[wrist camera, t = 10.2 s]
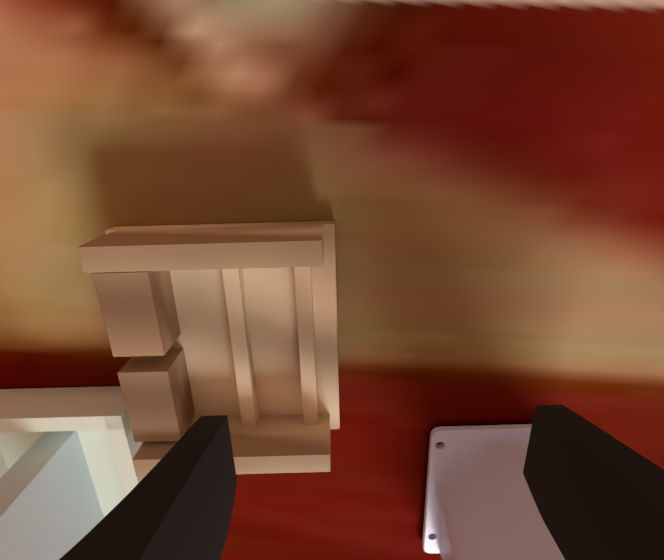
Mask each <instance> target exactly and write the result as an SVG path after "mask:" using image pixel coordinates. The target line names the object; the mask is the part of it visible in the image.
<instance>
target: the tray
mask: <svg viewBox="0 0 664 560" xmlns="http://www.w3.org/2000/svg"><path fill="white" fill-rule="evenodd" d="M51 431H77V432H78V436H79V439H80V442H81V445H82V448H83V452H84V455H85V458H86V461H87V465H88V468H89V471H90V474H91V477H92V481H93V484H94V487H95V490H96V493H97V497H98V500H99V503H100V506H101V510H102V513H103V516H104V517H105V516H106V515H107V514H108V513H109V512H110V511H111V510H112V509H113V508H114V507H115V506H116V505H117V504H119V503H120V502H121V501H122V500H123V499H124V498H125V497H126V496H127V495H128V494H129V493H130V492H131V490H132V489H133V488H134V487H135V486H136V485H137V484H138V483H139V482H140V481H141V480H142V479H143V478H144V477H136V473H135V469H134V465H133V462H132V459H133V458H134V456H135V454H136V453H137V451H138V450H139V448H140V446H141V445H142V443H143V442H135V441H134V437H133V433H132V429H131V426H130V422H129V418H128V414H127V410H126V406H125V402H124V398H123V394H122V390H121V386H102V387H65V388H28V389H0V478H1V477H2V476H3V475H4V474H5V473H6V472H7V471H8V470H9V468H10V467H11V466H12V465H13V464H14V463H15V462H16V461H17V460H18V459H19V458H20V457H21V456H22V455H23V454H24V453H25V452H26V451H27V450H28V449H29V448H30V447H31V446H32V445H33V444H34V443H35V442H36V441H37V440H38V438H39V437H40V436H41V435H42V434H43V433H44V432H51Z"/></svg>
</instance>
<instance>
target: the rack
mask: <svg viewBox="0 0 664 560" xmlns="http://www.w3.org/2000/svg"><path fill="white" fill-rule="evenodd" d="M105 234H106V235H104V236H102V237H99V238H97V239H95V240H92V241H90V242H88V243H86V244H83V245H81V246H79V247H77V249H78V253H79V257H80V261H81V265H82V269H83V272H84V273H101V272H137V271H170V276H171V282H172V287H173V293H174V298H175V304H176V309H177V315H178V321H179V326H180V332H181V334H180V335H179V337H178V338H177V339H176V341H175V342H174V343H173V345H172V346H171V347H170V349H178V348H183V349H184V354H185V360H186V365H187V371H188V377H189V382H190V388H191V393H192V399H193V405H194V410H195V414H194V416H193V418H192V420H191V422H190V424H189V426H188V428H187V430H188V429H189V428H190V427H191V426H192V425H193V424H194V423H195V422H196V421H197V420H198V419H199V418H200V417H201V416H215V415H227V417H228V423H229V430H230V437H231V444H232V450H233V457H234V464H235V471H236V474H261V473H299V472H330V429H340V422H339V381H338V340H337V299H336V258H335V222H334V221H299V222H264V223H228V224H192V225H156V226H120V227H112V228H110V229H107V230H105ZM187 430H186V432H187ZM186 432H185V433H186ZM176 443H177V441H152V442H143V443H142V445H141V446H140V448H139V450H138V451H137V453H136V454H135V456H134V458H133V459H132V462H133V465H134V469H135V473H136V477H145V476H146V475H147V474H148V473H149V472H150V471H151V470H152V468H153V467H154V466H155V465H156V464H157V463H158V462H159V461H160V460H161V459H162V458H163V457H164V456H165V455H166V453H167V452H168V451H169V450H170V449H171V448H172V447H173V446H174V445H175V444H176Z"/></svg>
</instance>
